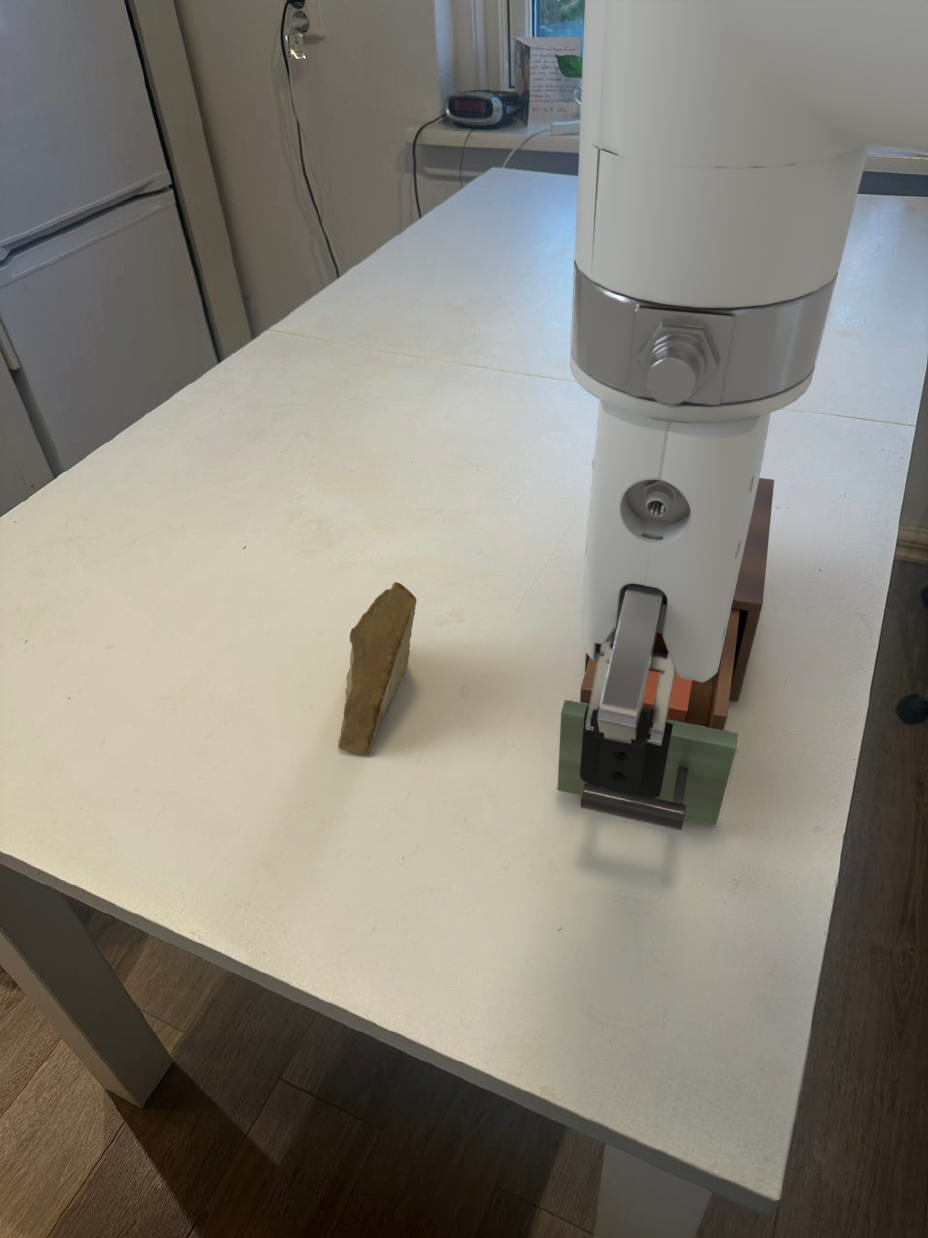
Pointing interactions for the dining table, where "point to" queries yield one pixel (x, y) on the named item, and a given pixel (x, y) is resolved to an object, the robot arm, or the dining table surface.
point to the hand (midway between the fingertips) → (641, 698)
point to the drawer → (692, 755)
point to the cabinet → (750, 583)
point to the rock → (376, 665)
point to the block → (678, 696)
